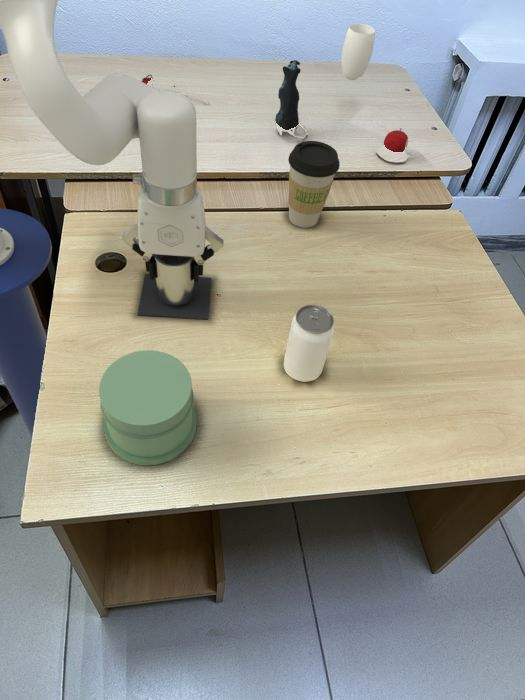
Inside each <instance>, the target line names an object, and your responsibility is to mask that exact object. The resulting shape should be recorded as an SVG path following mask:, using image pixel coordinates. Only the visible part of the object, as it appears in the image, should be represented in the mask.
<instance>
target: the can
mask: <svg viewBox="0 0 525 700" xmlns="http://www.w3.org/2000/svg"><path fill="white" fill-rule="evenodd" d="M334 333H335V319H334V315H333V314H332V313H331V311H330V310H328V309H327V308H325V307H324V306H322V305H319V304H306V305H303V306H302V307H300V308H299V309H298V310H297V312H296V314H295V315H294V316H293V318H292V320H291V323H290V328H289V333H288V338H287V343H286V348H285V353H284V359H283V370H284V371H285V372H286V374H287V375H288V377H290V378H292V379H293V380H295V381H298V382H304V383H305V382H306V383H308V382H312V381H315V380H317V379H318V378H319V377H320V376H321V374H322V372H323V371H324V366H325V364H326V360H327V357H328V353H329V351H330V348H331V347H330V346H331V344H332V341H333V338H334Z"/></svg>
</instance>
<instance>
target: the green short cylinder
mask: <svg viewBox="0 0 525 700" xmlns="http://www.w3.org/2000/svg"><path fill="white" fill-rule="evenodd" d="M98 394H99V395H98V396H99V399H100V409H101V413H102V417H103V431H104V436H105V440H106V442H107V444H108V446H109V448H110V449H111V451H112V452H114V454H115V455H117V456H118V457H119V458H120V459H122V460H123V461H126V462H127V463H131V464H134V465H139V466H157V465H161V464H165V463H167V462H169V461H170V462H171V461H172V460H174V459H176V458H177V457H179V456H180V455H182V453H183V452H184V451H186V450H187V448H188V447H189V446H190V444H191V443H192V441H193V440H194V437H195V434H196V433H197V432H196V431H197V423H198V422H197V417H198V416H197V412H196V408H195V406H194V388H193V382H192V377H191V374H190V372H189V370H188V368H187V367H186V365H184V363H183V362H182V361H181V360H180V359H178V358H177V357H175V356H174V355H172V354H169V353H167V352H164V351H161V350H160V351H159V350H153V349H145V350H137V351H132V352H129V353H127V354H125V355H122V356H120V357H119V358H118V359H116V360H114V362H112V363H111V364H109V366H108V367H107V368H106V370H105V371H104V373H102V377H100V382H99V387H98Z"/></svg>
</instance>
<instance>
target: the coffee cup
mask: <svg viewBox="0 0 525 700" xmlns="http://www.w3.org/2000/svg"><path fill="white" fill-rule="evenodd" d="M287 160H288V164H289V172H288V219H289V221H290V222H291V223H292V224H293V225H294V226H296V227H299V228H312V227H314V226H316V225H317V224H318V222H319V219H320V216H321V214H322V211H323V210H324V208H325V204H326V202H327V199H328V196H329V193H330V191H331V188H332V186H333V183H334V177H335V175H336V173H337V172H338V171H339V169H340V159H339V154H338V152H337V150H336V149H335V148H334V147H333V146H331V145H330V144H328V143H325V142H322V141H317V140H304V141H301V142H299V143H297V144H296V145H295V146H294V147H293V149H292V150H291V151H290V153H289V155H288V159H287Z"/></svg>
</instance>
